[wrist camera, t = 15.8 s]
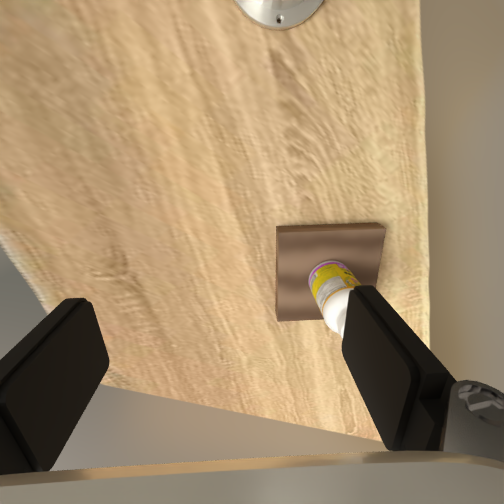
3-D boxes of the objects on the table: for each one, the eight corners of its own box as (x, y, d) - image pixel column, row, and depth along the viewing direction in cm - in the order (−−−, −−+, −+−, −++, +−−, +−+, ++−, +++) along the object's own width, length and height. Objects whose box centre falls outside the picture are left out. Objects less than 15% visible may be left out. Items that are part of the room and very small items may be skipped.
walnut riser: (276, 226, 43) (278, 232, 40) (376, 222, 43) (386, 228, 40) (275, 311, 49) (277, 321, 46) (362, 306, 49) (370, 317, 47)
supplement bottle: (355, 283, 44) (397, 337, 32) (318, 301, 45) (346, 361, 33) (338, 251, 41) (377, 297, 30) (300, 271, 43) (323, 324, 31)
